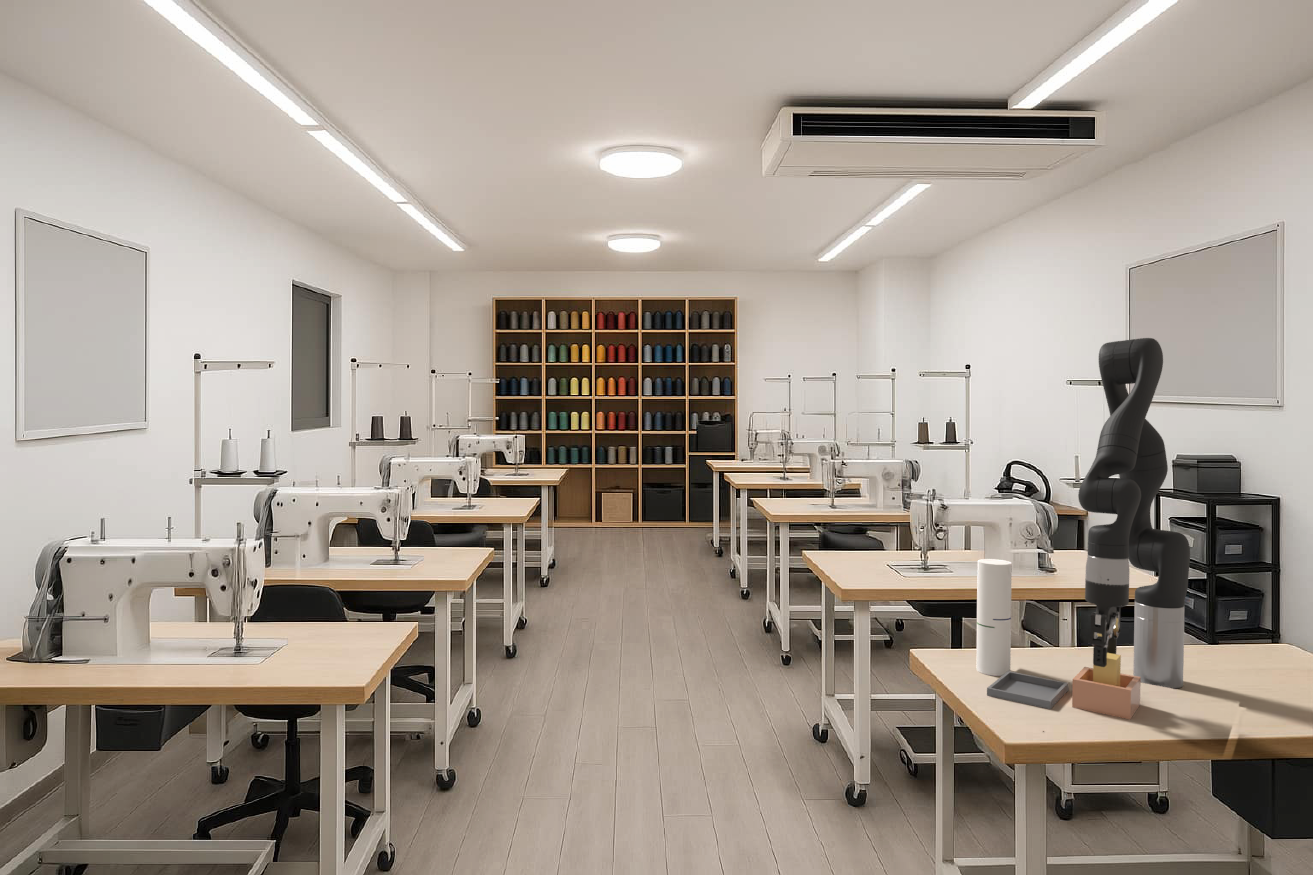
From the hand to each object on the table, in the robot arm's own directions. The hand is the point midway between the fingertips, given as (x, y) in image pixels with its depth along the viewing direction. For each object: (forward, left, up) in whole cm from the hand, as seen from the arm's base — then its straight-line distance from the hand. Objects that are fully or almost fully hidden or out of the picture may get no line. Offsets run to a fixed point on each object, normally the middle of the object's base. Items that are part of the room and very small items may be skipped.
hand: (1104, 661), depth 159 cm
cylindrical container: (-11, -25, -10) cm, 29 cm away
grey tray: (+2, -14, -10) cm, 17 cm away
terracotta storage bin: (0, 0, -10) cm, 10 cm away
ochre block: (0, 0, -9) cm, 9 cm away
